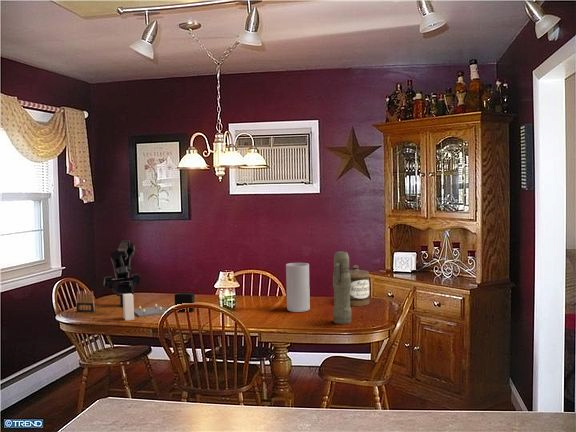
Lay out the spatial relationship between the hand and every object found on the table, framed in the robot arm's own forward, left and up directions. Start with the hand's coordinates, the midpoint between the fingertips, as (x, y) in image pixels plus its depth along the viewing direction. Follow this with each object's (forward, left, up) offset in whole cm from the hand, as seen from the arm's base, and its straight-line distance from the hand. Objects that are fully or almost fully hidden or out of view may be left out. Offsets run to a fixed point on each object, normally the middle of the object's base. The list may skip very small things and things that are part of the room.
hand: (124, 293), depth 309 cm
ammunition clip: (-29, -7, -13) cm, 32 cm away
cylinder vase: (+64, +67, -13) cm, 94 cm away
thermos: (+99, +60, -13) cm, 117 cm away
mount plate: (+2, +14, -13) cm, 19 cm away
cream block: (+6, -2, -13) cm, 14 cm away
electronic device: (+16, +27, -13) cm, 34 cm away
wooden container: (+80, +99, -13) cm, 128 cm away
